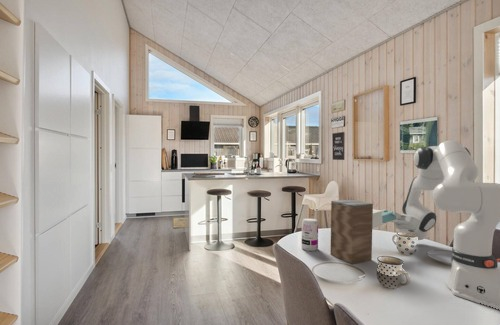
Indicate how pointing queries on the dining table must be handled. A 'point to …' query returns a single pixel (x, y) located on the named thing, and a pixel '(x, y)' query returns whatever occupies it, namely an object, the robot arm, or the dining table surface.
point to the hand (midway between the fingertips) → (388, 211)
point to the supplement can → (310, 234)
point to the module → (381, 218)
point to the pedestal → (351, 230)
